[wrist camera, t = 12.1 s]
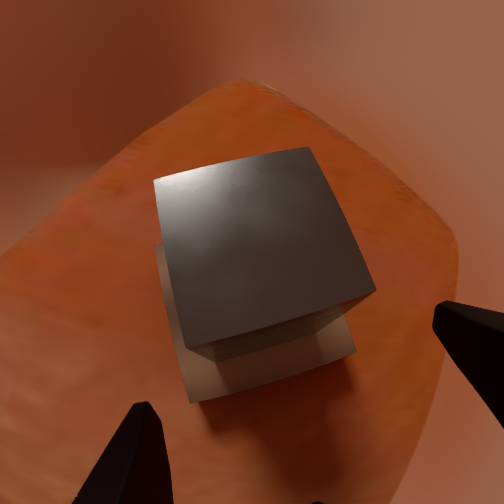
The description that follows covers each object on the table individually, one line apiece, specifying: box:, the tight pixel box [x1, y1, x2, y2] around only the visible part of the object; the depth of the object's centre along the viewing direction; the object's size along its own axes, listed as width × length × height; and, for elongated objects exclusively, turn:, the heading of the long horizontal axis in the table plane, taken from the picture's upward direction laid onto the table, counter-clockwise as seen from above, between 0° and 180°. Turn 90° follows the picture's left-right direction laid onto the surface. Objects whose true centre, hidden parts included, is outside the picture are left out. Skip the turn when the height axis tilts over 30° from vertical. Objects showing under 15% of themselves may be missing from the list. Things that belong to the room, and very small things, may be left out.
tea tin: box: [154, 147, 376, 363], centre depth 15 cm, size 7×7×10 cm
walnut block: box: [154, 243, 357, 404], centre depth 21 cm, size 11×11×3 cm
